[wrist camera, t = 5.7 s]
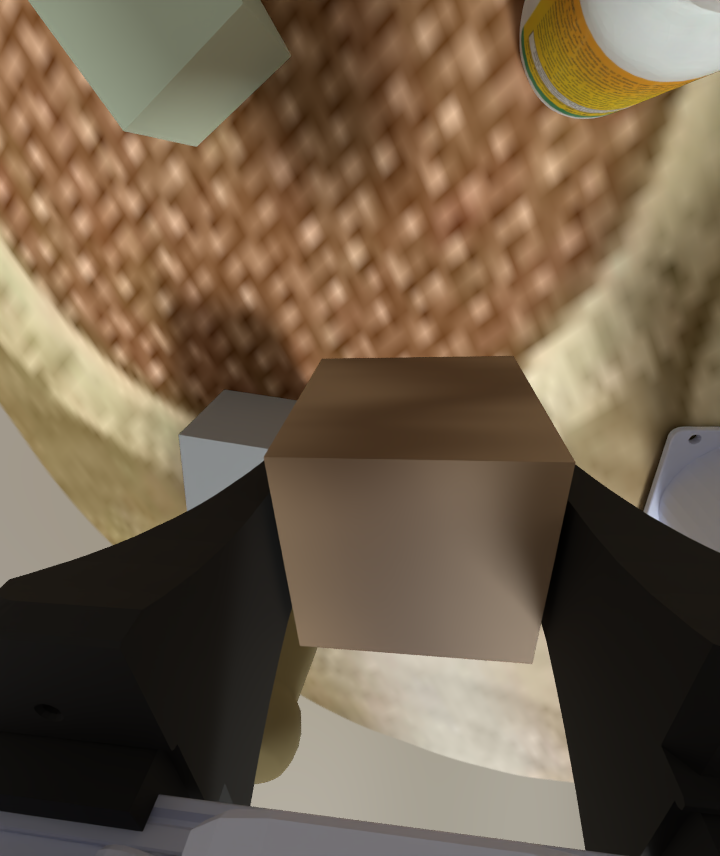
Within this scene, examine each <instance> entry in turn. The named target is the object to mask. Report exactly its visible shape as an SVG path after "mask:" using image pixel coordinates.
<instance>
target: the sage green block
mask: <svg viewBox="0 0 720 856" xmlns="http://www.w3.org/2000/svg"><path fill="white" fill-rule="evenodd" d="M28 1H29V2H30V4H31V5H32V6H33V8H34V9H35V10H36V12H37V13H38V14H39V16H40V17H41V19H42V20H43V21H44V23H45V24H46V25H47V27H48V28H49V30H50V31H51V32H52V34H53V35H54V36H55V38H56V39H57V40H58V42H59V43H60V45H61V46H62V47H63V49H64V50H65V51H66V53H67V54H68V55H69V57H70V58H71V60H72V61H73V62H74V64H75V65H76V66H77V68H78V69H79V71H80V72H81V73H82V75H83V76H84V77H85V79H86V80H87V81H88V83H89V84H90V86H91V87H92V88H93V90H94V91H95V92H96V94H97V95H98V97H99V98H100V99H101V101H102V102H103V103H104V105H105V106H106V107H107V109H108V110H109V112H110V113H111V114H112V116H113V117H114V118H115V120H116V121H117V122H118V124H119V125H120V127H121V128H122V129H123V131H126V132H131V133H135V134H140V135H145V136H149V137H154V138H159V139H163V140H168V141H173V142H177V143H182V144H186V145H191V146H196V147H197V146H198V145H199V144H200V143H201V142H202V141H203V140H204V139H205V138H206V137H207V136H208V135H209V134H210V133H211V132H213V131H214V130H215V129H216V128H217V127H218V126H219V125H220V124H221V123H222V122H223V121H224V120H225V119H226V118H227V117H228V116H229V115H230V114H231V113H232V112H233V111H234V110H236V109H237V108H238V107H239V106H240V105H241V104H242V103H243V102H244V101H245V100H246V99H247V98H248V97H249V96H250V95H251V94H252V93H253V92H254V91H255V90H256V89H257V88H259V87H260V86H261V85H262V84H263V83H264V82H265V81H266V80H267V79H268V78H269V77H270V76H271V75H272V74H273V73H274V72H275V71H276V70H277V69H278V68H279V67H281V66H282V65H283V64H284V63H285V62H286V61H287V60H288V59H289V58H290V57H291V56H292V55H291V54H290V52H289V50H288V48H287V47H286V45H285V43H284V41H283V40H282V38H281V36H280V34H279V32H278V31H277V29H276V27H275V25H274V24H273V22H272V20H271V18H270V16H269V15H268V13H267V11H266V9H265V8H264V6H263V4H262V2H261V1H260V0H28Z"/></svg>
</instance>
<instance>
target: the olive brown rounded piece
mask: <svg viewBox="0 0 720 856" xmlns="http://www.w3.org/2000/svg"><path fill="white" fill-rule="evenodd" d="M316 650H317V647H309V646H300V644H299V639H298V634H297V628H296V623H295V618H294V613H293V608H292V610H291V613H290V617H289V620H288V624H287V628H286V632H285V636H284V641H283V645H282V649H281V653H280V658H279V662H278V667H277V671H276V676H275V680H274V685H273V690H272V694H271V699H270V703H269V709H268V714H267V719H266V724H265V729H264V734H263V739H262V744H261V749H260V754H259V759H258V765H257V771H256V776H255V782H254V784H259V783H264V782H268V781H271V780H273V779H275V778H277V777H279V776H280V775H281V774H282V773H283V772H284V771H285V769H286V768H287V767H288V766H289V764H290V763H291V761H292V759H293V757H294V755H295V753H296V750H297V748H298V746H299V741H300V736H301V711H300V708H299V706H298V703H297V701H298V698H299V696H300V693H301V690H302V688H303V685H304V682H305V680H306V677H307V674H308V672H309V669H310V666H311V664H312V661H313V658H314V656H315V653H316Z"/></svg>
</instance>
